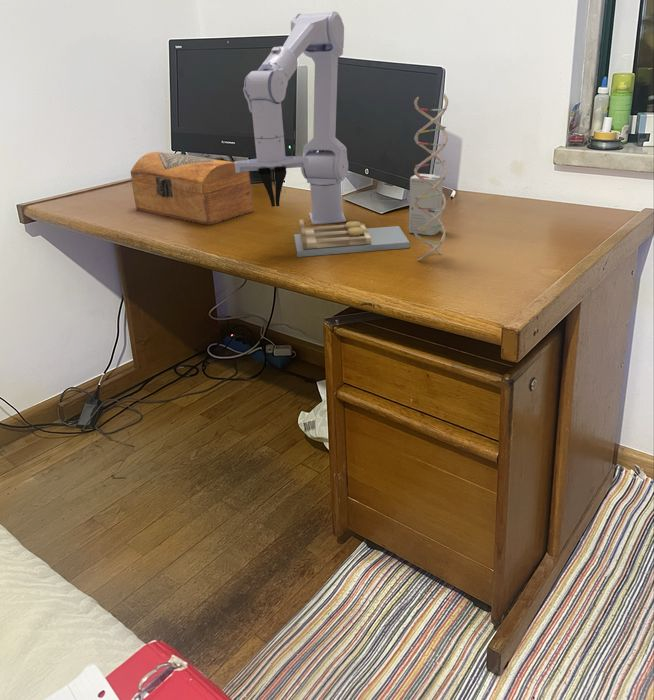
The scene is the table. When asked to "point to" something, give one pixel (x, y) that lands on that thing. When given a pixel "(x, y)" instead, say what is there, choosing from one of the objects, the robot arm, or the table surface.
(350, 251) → the board
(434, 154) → the dna model
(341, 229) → the beige flat slatted frame
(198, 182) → the wooden box
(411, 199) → the skincare box
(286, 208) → the table surface
